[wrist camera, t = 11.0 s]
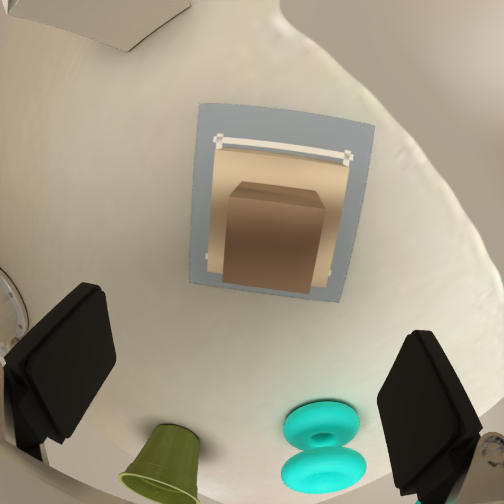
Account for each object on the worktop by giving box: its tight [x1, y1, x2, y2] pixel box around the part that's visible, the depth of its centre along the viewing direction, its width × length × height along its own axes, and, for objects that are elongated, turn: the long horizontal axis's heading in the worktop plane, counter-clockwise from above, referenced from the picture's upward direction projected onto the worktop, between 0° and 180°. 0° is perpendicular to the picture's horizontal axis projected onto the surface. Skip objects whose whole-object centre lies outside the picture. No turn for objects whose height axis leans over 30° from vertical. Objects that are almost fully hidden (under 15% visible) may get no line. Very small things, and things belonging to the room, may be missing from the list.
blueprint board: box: [190, 103, 375, 303], centre depth 25 cm, size 16×14×1 cm
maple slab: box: [207, 147, 349, 288], centre depth 23 cm, size 9×9×4 cm
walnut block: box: [222, 181, 326, 294], centre depth 19 cm, size 5×5×5 cm
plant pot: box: [118, 425, 200, 504], centre depth 35 cm, size 12×12×11 cm
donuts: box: [281, 401, 366, 494], centre depth 31 cm, size 10×10×10 cm
